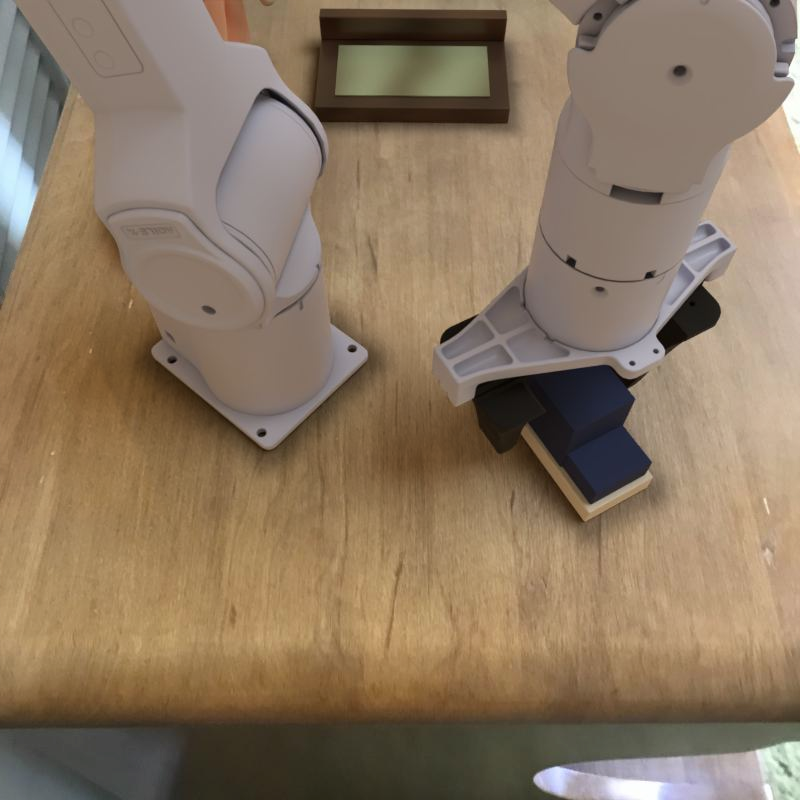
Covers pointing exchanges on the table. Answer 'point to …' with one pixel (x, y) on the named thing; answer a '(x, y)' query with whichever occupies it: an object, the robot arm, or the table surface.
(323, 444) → the table surface
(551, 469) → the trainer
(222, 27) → the grandmother figurine
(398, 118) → the brown tray with backboard
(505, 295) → the robot arm
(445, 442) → the table surface
